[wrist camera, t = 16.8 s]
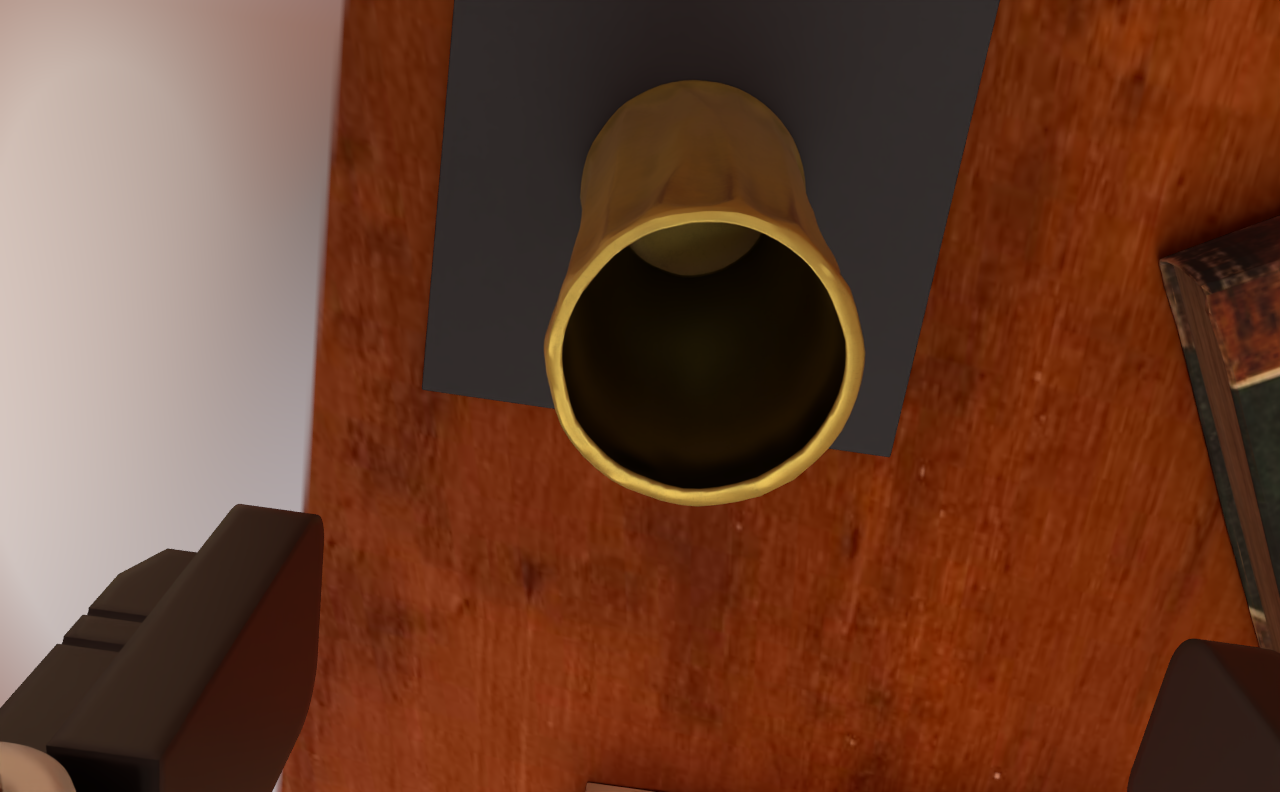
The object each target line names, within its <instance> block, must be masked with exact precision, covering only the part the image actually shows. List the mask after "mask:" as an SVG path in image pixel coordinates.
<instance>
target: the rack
mask: <svg viewBox="0 0 1280 792" xmlns="http://www.w3.org/2000/svg"><path fill="white" fill-rule="evenodd" d="M585 792H654V791H647V790H639V789H632V788H625V787H618V786H610V785H603V784H596V783H587V785H586V791H585Z"/></svg>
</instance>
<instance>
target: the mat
mask: <svg viewBox="0 0 1280 792" xmlns="http://www.w3.org/2000/svg"><path fill="white" fill-rule="evenodd" d="M999 1H1000V0H454V12H453V24H452V36H451V48H450V60H449V72H448V84H447V96H446V108H445V120H444V132H443V144H442V155H441V167H440V179H439V191H438V203H437V215H436V227H435V239H434V251H433V263H432V275H431V287H430V299H429V311H428V323H427V335H426V347H425V359H424V371H423V383H422V389H423V390H428V391H435V392H442V393H449V394H456V395H463V396H470V397H477V398H484V399H491V400H498V401H504V402H511V403H518V404H525V405H532V406H539V407H546V408H553V409H555V407H554V403H553V399H552V394H551V390H550V386H549V382H548V378H547V373H546V365H545V356H544V340H545V334H546V332H547V329H548V326H549V323H550V320H551V316H552V313H553V311H554V308H555V306H556V303H557V301H558V298H559V294H560V290H561V287H562V284H563V282H564V279H565V277H566V274H567V271H568V267H569V263H570V259H571V256H572V252H573V249H574V245H575V242H576V238H577V235H578V232H579V229H580V224H581V217H582V206H581V200H580V194H581V181H582V175H583V168H584V165H585V161H586V158H587V155H588V152H589V150H590V148H591V146H592V143H593V142H594V140H595V139H596V137H597V135H598V134H599V132H600V131H601V130H602V128H603V127H604V126H605V124H606V123H607V121H608V120H609V119H610V118H611V117H612V115H613V114H614V113H615V112H616V111H617V110H618V109H619V108H620V107H621V106H622V105H624V104H625V103H626V102H627V101H629V100H631V99H632V98H634V97H636V96H638V95H640V94H641V93H643V92H645V91H647V90H649V89H652V88H655V87H657V86H660V85H663V84H667V83H671V82H677V81H684V80H702V81H711V82H718V83H722V84H725V85H729V86H732V87H735V88H738V89H740V90H742V91H744V92H746V93H748V94H750V95H751V96H753V97H755V98H756V99H758V100H759V101H760V102H762V103H763V104H764V105H766V106H767V107H768V108H769V109H770V110H771V111H772V112H773V113H774V114H775V115H776V116H777V117H778V118H779V119H780V120H781V122H782V123H783V124H784V126H785V127H786V128H787V130H788V131H789V133H790V135H791V136H792V138H793V140H794V142H795V144H796V146H797V149H798V152H799V154H800V158H801V161H802V165H803V170H804V176H805V185H806V194H807V197H808V200H809V203H810V205H811V207H812V209H813V211H814V215H815V218H816V222H817V225H818V227H819V230H820V232H821V234H822V236H823V238H824V240H825V242H826V244H827V246H828V247H829V249H830V250H831V252H832V253H833V255H834V257H835V259H836V262H837V264H838V266H839V269H840V275H841V276H842V277H843V278H844V280H845V281H846V283H847V284H848V286H849V287H850V290H851V293H852V296H853V299H854V302H855V305H856V309H857V313H858V317H859V321H860V325H861V330H862V334H863V339H864V348H865V363H864V371H863V376H862V381H861V385H860V388H859V392H858V395H857V399H856V401H855V404H854V406H853V409H852V411H851V414H850V416H849V418H848V420H847V422H846V424H845V426H844V427H843V429H842V431H841V432H840V434H839V435H838V437H837V438H836V439H835V441H834V442H833V444H832V445H831V446H830V447H829V448H830V449H836V450H843V451H850V452H857V453H864V454H871V455H878V456H885V457H890V455H891V451H892V447H893V443H894V439H895V434H896V430H897V426H898V422H899V418H900V414H901V409H902V405H903V401H904V397H905V393H906V389H907V384H908V380H909V376H910V372H911V368H912V364H913V359H914V355H915V351H916V347H917V343H918V339H919V334H920V330H921V326H922V322H923V318H924V314H925V309H926V305H927V301H928V297H929V293H930V289H931V284H932V280H933V276H934V272H935V268H936V264H937V259H938V255H939V251H940V247H941V243H942V239H943V234H944V230H945V226H946V222H947V218H948V214H949V209H950V205H951V201H952V197H953V193H954V189H955V184H956V180H957V176H958V172H959V168H960V164H961V159H962V155H963V151H964V147H965V143H966V139H967V134H968V130H969V126H970V122H971V118H972V114H973V109H974V105H975V101H976V97H977V93H978V89H979V85H980V80H981V76H982V72H983V68H984V64H985V60H986V55H987V51H988V47H989V43H990V39H991V35H992V30H993V26H994V22H995V18H996V14H997V10H998V5H999Z"/></svg>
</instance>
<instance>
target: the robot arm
mask: <svg viewBox="0 0 1280 792" xmlns="http://www.w3.org/2000/svg"><path fill="white" fill-rule="evenodd" d="M323 546H324V529H323V522H322V519H321V517H320V516H319V515H316V514H309V513H302V512H294V511H287V510H279V509H272V508H265V507H258V506H251V505H244V504H237V505H235V506H234V507H233V508H232V509H231V510H230V512H229V513H228V514H227V515H226V517H225V518H224V519H223V521H222V522H221V523H220V525H219V526H218V527H217V528H216V530H215V531H214V532H213V533H212V535H211V536H210V537H209V539H208V540H207V541H206V542H205V543H204V545H203V546H202V548H201V549H200V550H199V551H198V552H197V553H196V552H188V551H182V550H174V549H166V550H164V551H162V552H160V553H158V554H156V555H154V556H152V557H150V558H149V559H147V560H145V561H143V562H141V563H139V564H137V565H135V566H133V567H132V568H129V569H128V570H126V571H124V572H122V573H120V574H118V575H117V577H116V578H115V579H114V580H113V581H112V582H111V583H110V585H109V586H108V587H107V588H106V589H105V590H104V591H103V593H102V594H101V595H100V596H99V597H98V598H97V599H96V600H95V601H94V603H93V604H92V605H91V606H90V607H89V611H88V614H87V615H82V616H81V617H80V619H79V620H78V621H77V622H76V623H75V624H74V625H73V626H72V628H71V629H70V630H69V631H68V632H67V633H66V634H65V636H64V639H63V642H62V644H56V646H55V647H54V648H53V649H52V650H51V651H50V653H49V654H48V655H47V656H46V657H45V658H44V659H43V660H42V661H41V663H40V664H39V665H38V666H37V667H36V668H35V669H34V671H33V672H32V673H31V674H30V675H29V676H28V677H27V678H26V680H25V681H24V682H23V683H22V684H21V685H20V687H18V689H17V690H16V691H15V692H14V693H13V694H12V695H11V697H10V698H9V699H8V700H7V701H6V702H5V704H4V705H3V706H2V707H1V708H0V792H272V791H273V789H274V787H275V785H276V782H277V780H278V778H279V776H280V774H281V772H282V770H283V768H284V766H285V763H286V761H287V759H288V757H289V755H290V753H291V751H292V749H293V747H294V744H295V742H296V740H297V738H298V736H299V734H300V732H301V729H302V727H303V724H304V721H305V719H306V715H307V712H308V709H309V705H310V701H311V697H312V692H313V687H314V682H315V676H316V668H317V656H318V638H319V620H320V601H321V583H322V565H323ZM1127 792H1280V653H1278V652H1276V651H1275V650H1271V649H1265V648H1258V647H1251V646H1244V645H1237V644H1229V643H1222V642H1215V641H1208V640H1201V639H1189V640H1186V641H1184V642H1183V643H1182V644H1181V645H1180V646H1179V647H1178V648H1177V649H1176V651H1175V652H1174V654H1173V656H1172V658H1171V660H1170V663H1169V665H1168V668H1167V671H1166V674H1165V677H1164V680H1163V682H1162V685H1161V688H1160V691H1159V694H1158V696H1157V699H1156V702H1155V705H1154V708H1153V711H1152V713H1151V716H1150V719H1149V722H1148V725H1147V728H1146V730H1145V733H1144V736H1143V739H1142V742H1141V745H1140V747H1139V750H1138V753H1137V756H1136V759H1135V762H1134V764H1133V767H1132V770H1131V774H1130V777H1129V782H1128V788H1127Z"/></svg>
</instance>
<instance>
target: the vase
mask: <svg viewBox="0 0 1280 792" xmlns="http://www.w3.org/2000/svg"><path fill="white" fill-rule="evenodd" d="M580 200H581V206H582V217H581V224H580V229H579V232H578V235H577V238H576V242H575V245H574V249H573V252H572V256H571V259H570V263H569V267H568V271H567V274H566V277H565V279H564V282H563V284H562V287H561V290H560V294H559V298H558V301H557V303H556V306H555V308H554V311H553V313H552V316H551V320H550V323H549V326H548V329H547V332H546V334H545V340H544V356H545V365H546V373H547V378H548V382H549V386H550V390H551V394H552V399H553V403H554V407H555V410H556V413H557V416H558V418H559V421H560V424H561V426H562V428H563V430H564V432H565V433H566V435H567V436H568V438H569V439H570V441H571V442H572V444H573V445H574V446H575V447H576V448H577V450H578V451H579V452H580V453H581V454H582V455H583V457H585V458H586V459H587V460H588V461H589V462H590V463H591V464H592V465H593V466H594V467H595V468H596V469H597V470H599V471H600V472H601V473H603V474H604V475H605V476H607V477H608V478H609V479H611V480H612V481H614V482H616V483H618V484H619V485H621V486H623V487H625V488H627V489H630V490H633V491H635V492H638V493H641V494H644V495H647V496H650V497H652V498H655V499H658V500H661V501H665V502H669V503H674V504H679V505H688V506H710V505H719V504H726V503H732V502H738V501H742V500H746V499H750V498H755V497H759V496H762V495H764V494H766V493H768V492H770V491H772V490H774V489H776V488H778V487H780V486H782V485H784V484H786V483H788V482H790V481H792V480H794V479H795V478H796V477H798V476H799V475H800V474H801V473H802V472H804V471H805V470H806V469H807V468H808V467H809V466H811V465H812V464H813V463H814V462H815V461H816V460H817V459H818V458H819V457H820V456H821V455H822V454H823V453H824V452H825V451H826V450H827V449H828V448H829V447H830V446H831V445H832V444H833V442H834V441H835V439H836V438H837V437H838V435H839V434H840V432H841V431H842V429H843V427H844V426H845V424H846V422H847V420H848V418H849V416H850V414H851V411H852V409H853V406H854V404H855V401H856V399H857V395H858V392H859V388H860V385H861V381H862V376H863V371H864V363H865V348H864V339H863V334H862V330H861V325H860V321H859V317H858V313H857V309H856V305H855V302H854V299H853V296H852V293H851V290H850V287H849V286H848V284H847V283H846V281H845V280H844V278H843V277H842V276H841V275H840V269H839V266H838V264H837V262H836V259H835V257H834V255H833V253H832V252H831V250H830V249H829V247H828V246H827V244H826V242H825V240H824V238H823V236H822V234H821V232H820V230H819V227H818V225H817V222H816V218H815V215H814V211H813V209H812V207H811V205H810V203H809V200H808V197H807V194H806V185H805V176H804V170H803V165H802V161H801V158H800V154H799V152H798V149H797V146H796V144H795V142H794V140H793V138H792V136H791V135H790V133H789V131H788V130H787V128H786V127H785V126H784V124H783V123H782V122H781V120H780V119H779V118H778V117H777V116H776V115H775V114H774V113H773V112H772V111H771V110H770V109H769V108H768V107H767V106H766V105H764V104H763V103H762V102H760V101H759V100H758V99H756V98H755V97H753V96H751V95H750V94H748V93H746V92H744V91H742V90H740V89H738V88H735V87H732V86H729V85H725V84H722V83H718V82H711V81H702V80H684V81H677V82H671V83H667V84H663V85H660V86H657V87H655V88H652V89H649V90H647V91H645V92H643V93H641V94H640V95H638V96H636V97H634V98H632V99H631V100H629V101H627V102H626V103H625V104H624V105H622V106H621V107H620V108H619V109H618V110H617V111H616V112H615V113H614V114H613V115H612V117H611V118H610V119H609V120H608V121H607V123H606V124H605V126H604V127H603V128H602V130H601V131H600V132H599V134H598V135H597V137H596V139H595V140H594V142H593V143H592V146H591V148H590V150H589V152H588V155H587V158H586V161H585V165H584V168H583V175H582V181H581V194H580Z"/></svg>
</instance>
